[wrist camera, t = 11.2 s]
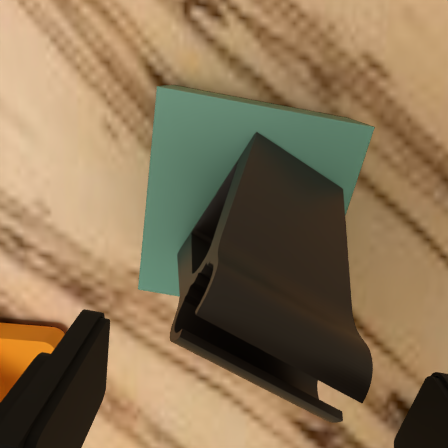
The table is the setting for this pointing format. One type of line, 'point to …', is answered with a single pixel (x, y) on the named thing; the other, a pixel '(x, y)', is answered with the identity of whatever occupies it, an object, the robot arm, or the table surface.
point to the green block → (227, 162)
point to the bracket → (22, 350)
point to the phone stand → (274, 282)
